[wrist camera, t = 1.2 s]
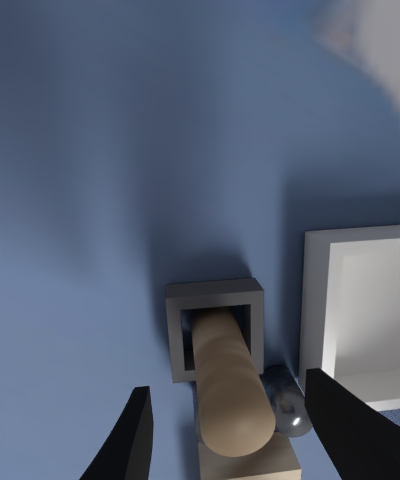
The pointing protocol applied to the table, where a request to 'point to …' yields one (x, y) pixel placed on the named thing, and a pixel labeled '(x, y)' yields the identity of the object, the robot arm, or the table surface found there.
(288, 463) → the maple block
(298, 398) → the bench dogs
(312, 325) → the tray
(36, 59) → the table surface
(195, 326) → the dowel
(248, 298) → the dowel collar
